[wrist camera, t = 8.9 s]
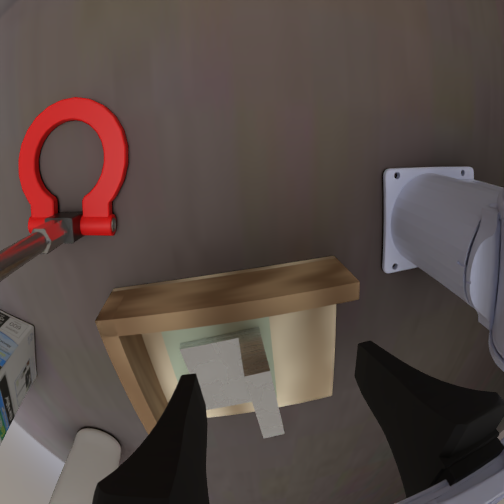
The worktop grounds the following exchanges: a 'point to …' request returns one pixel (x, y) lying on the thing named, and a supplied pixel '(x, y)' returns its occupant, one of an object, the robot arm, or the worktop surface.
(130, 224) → the worktop surface
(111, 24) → the worktop surface
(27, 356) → the light bulb box
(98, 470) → the drinking glass
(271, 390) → the bracket
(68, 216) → the tow hook
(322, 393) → the board
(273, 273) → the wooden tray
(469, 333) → the worktop surface
